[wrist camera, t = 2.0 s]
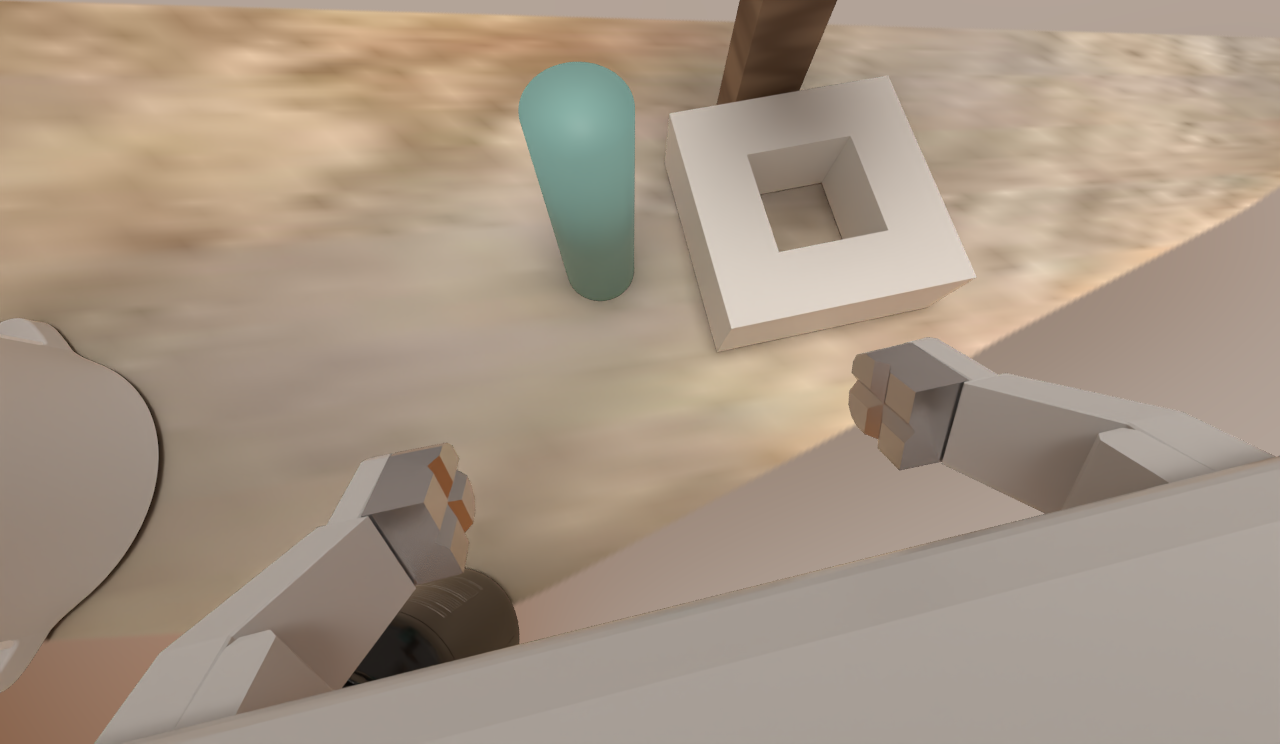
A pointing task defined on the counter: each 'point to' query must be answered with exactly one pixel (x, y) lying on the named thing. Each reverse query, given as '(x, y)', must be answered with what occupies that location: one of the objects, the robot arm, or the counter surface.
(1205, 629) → the robot arm
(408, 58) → the counter surface
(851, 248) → the socket
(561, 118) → the peg
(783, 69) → the brown wooden overhang stand
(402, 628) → the supplement bottle
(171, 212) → the counter surface
